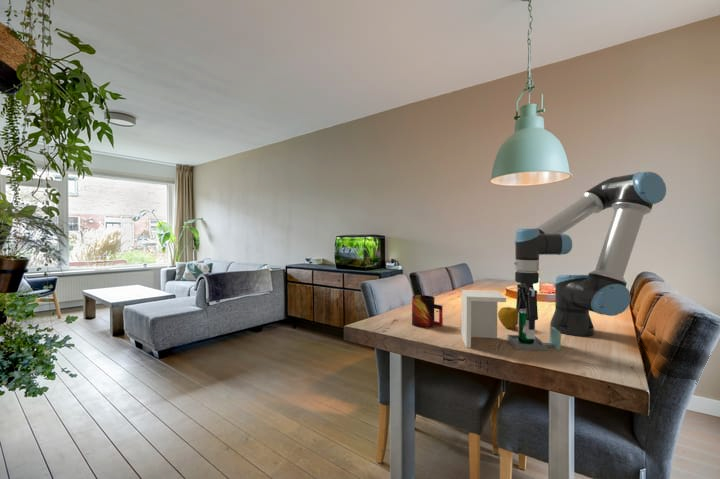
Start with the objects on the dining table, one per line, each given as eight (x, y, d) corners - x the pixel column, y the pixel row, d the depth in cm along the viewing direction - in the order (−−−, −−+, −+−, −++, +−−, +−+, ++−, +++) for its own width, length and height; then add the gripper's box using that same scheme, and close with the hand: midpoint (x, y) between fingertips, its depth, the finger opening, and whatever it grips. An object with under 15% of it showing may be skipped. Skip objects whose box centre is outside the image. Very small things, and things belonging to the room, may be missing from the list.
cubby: (496, 337, 126) (497, 291, 125) (505, 349, 113) (506, 297, 112) (461, 335, 128) (461, 290, 127) (466, 347, 115) (466, 296, 115)
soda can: (523, 345, 115) (523, 310, 115) (515, 340, 120) (515, 307, 120) (537, 344, 115) (537, 310, 115) (528, 340, 120) (528, 307, 120)
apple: (514, 324, 144) (514, 304, 143) (525, 330, 135) (525, 309, 134) (494, 324, 143) (494, 304, 143) (503, 330, 134) (504, 309, 134)
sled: (551, 341, 121) (551, 325, 121) (563, 351, 111) (563, 334, 111) (507, 339, 124) (507, 323, 124) (515, 349, 114) (515, 331, 113)
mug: (442, 330, 136) (442, 301, 135) (409, 326, 141) (409, 298, 141) (445, 323, 145) (445, 296, 144) (414, 320, 150) (414, 294, 150)
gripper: (507, 268, 128) (507, 325, 129) (525, 275, 107) (524, 343, 108) (528, 268, 127) (527, 326, 127) (550, 275, 106) (549, 345, 107)
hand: (526, 334), depth 118 cm, fingers open, 8 cm apart
